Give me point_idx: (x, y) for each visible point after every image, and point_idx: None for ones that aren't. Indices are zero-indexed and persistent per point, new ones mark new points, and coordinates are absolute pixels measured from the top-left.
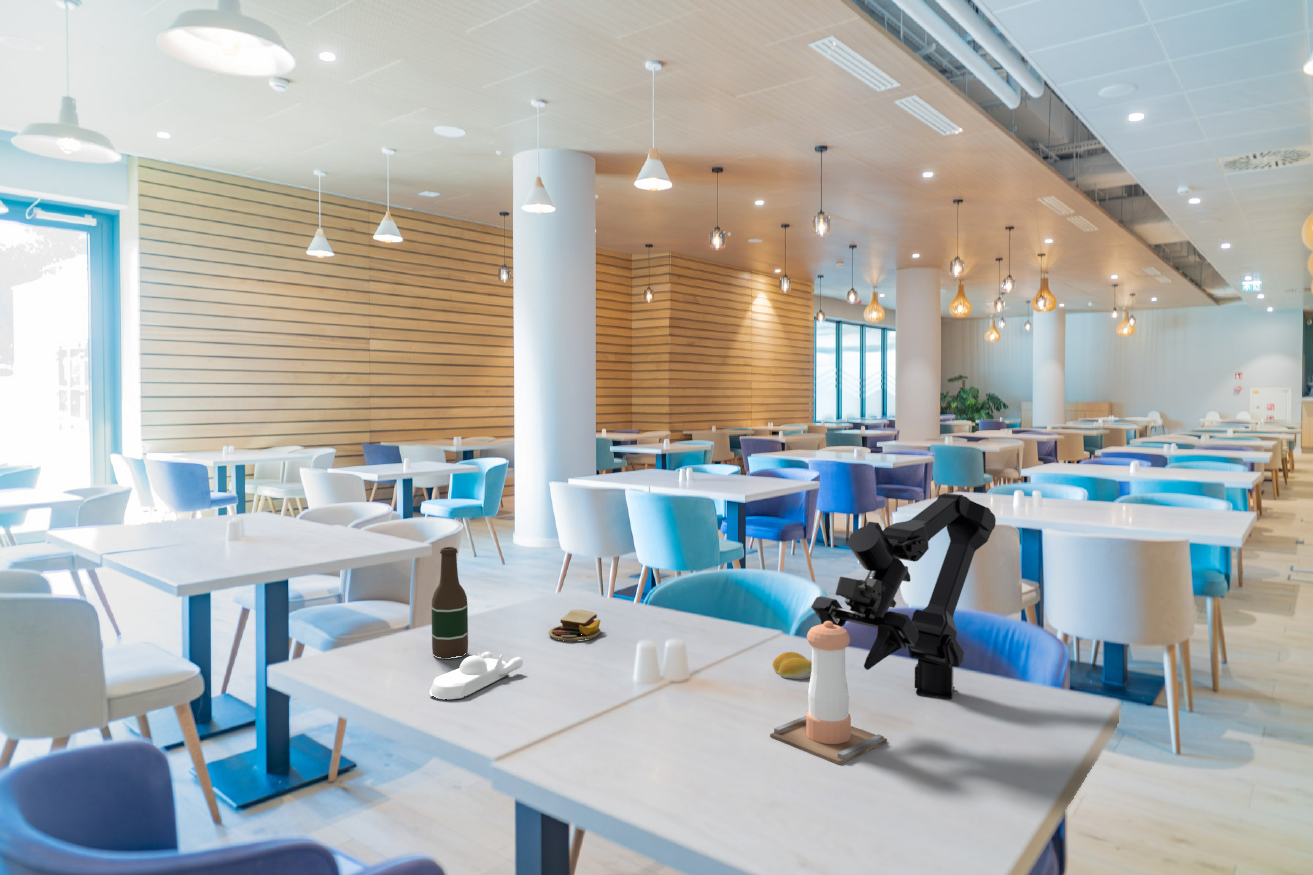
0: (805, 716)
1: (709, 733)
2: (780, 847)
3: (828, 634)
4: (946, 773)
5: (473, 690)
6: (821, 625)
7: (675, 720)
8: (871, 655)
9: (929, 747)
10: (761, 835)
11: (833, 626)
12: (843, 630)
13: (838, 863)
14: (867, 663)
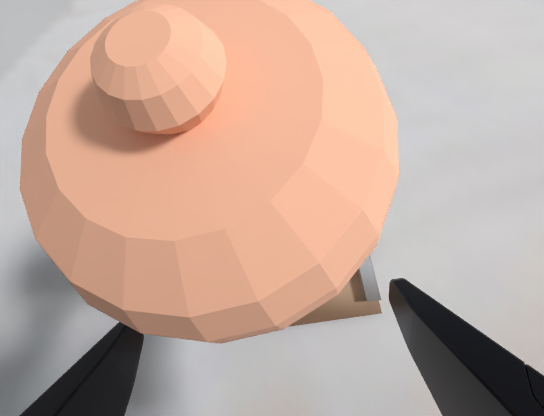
0: (368, 259)
1: (409, 79)
2: (101, 7)
3: (92, 29)
4: (58, 316)
5: None
6: (260, 61)
7: (495, 58)
8: (67, 375)
9: (132, 393)
10: (128, 3)
11: (134, 139)
12: (40, 199)
13: (45, 35)
14: (107, 333)
